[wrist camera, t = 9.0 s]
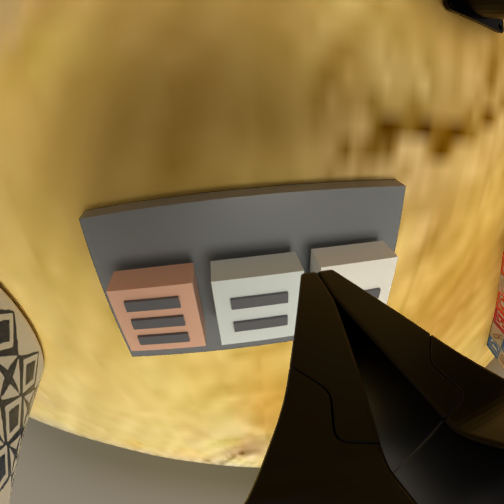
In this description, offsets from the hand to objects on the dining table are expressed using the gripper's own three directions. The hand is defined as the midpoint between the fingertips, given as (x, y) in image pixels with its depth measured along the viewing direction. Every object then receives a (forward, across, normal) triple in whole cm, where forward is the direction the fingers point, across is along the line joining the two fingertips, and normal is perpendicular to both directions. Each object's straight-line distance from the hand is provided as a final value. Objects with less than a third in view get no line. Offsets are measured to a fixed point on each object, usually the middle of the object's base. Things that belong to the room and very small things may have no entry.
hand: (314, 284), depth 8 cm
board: (+11, +1, +7) cm, 13 cm away
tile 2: (+10, +1, +7) cm, 13 cm away
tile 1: (+11, -5, +7) cm, 14 cm away
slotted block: (+10, +7, +7) cm, 14 cm away
